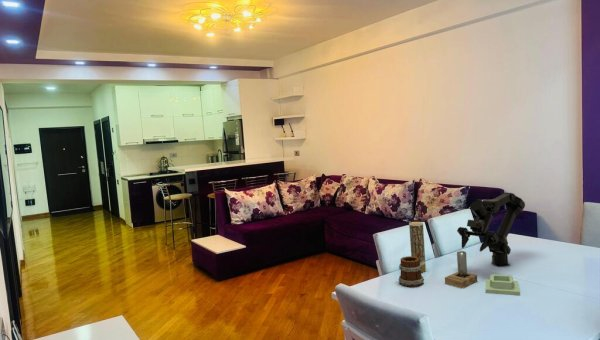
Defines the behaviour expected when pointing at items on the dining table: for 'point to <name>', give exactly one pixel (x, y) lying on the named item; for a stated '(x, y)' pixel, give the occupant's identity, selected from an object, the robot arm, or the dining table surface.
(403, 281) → the mug
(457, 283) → the wooden rectangular frame
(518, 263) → the dining table surface
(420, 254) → the bark textured cylinder
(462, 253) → the grey glass peg
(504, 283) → the socket stand
